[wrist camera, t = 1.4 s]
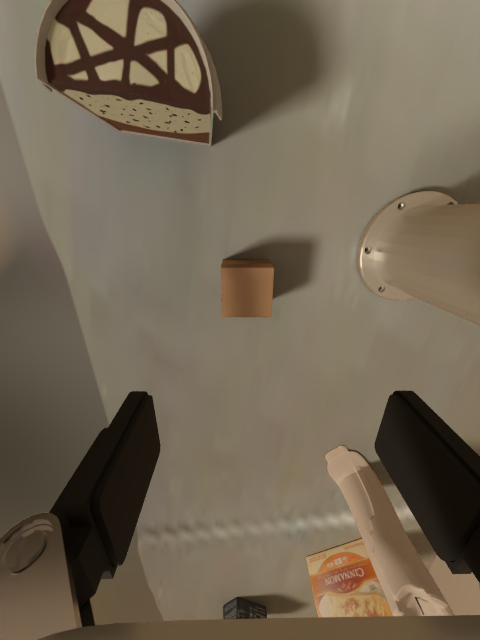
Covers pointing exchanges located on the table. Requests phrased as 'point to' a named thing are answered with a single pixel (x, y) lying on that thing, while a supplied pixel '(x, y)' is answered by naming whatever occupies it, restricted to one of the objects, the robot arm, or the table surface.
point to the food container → (131, 66)
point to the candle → (386, 539)
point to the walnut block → (247, 287)
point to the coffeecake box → (346, 583)
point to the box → (243, 610)
